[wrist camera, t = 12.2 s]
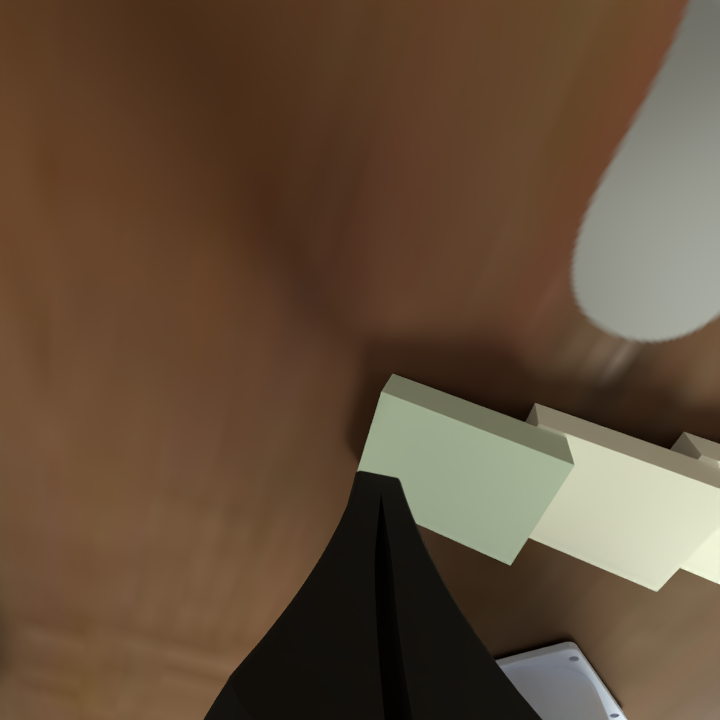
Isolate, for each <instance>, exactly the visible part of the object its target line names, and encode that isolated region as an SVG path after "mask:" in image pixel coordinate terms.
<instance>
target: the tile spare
mask: <svg viewBox="0 0 720 720" xmlns="http://www.w3.org/2000/svg"><path fill="white" fill-rule="evenodd" d="M574 466H575V465H574V461H573V458H572V454H571V451H570V448H569V444H568V441H567V438H566V437H563V436H561V435H558V434H555V433H553V432H550V431H547V430H544V429H542V428H539V427H536V426H534V425H531V424H528V423H526V422H523V421H520V420H517V419H515V418H512V417H509V416H507V415H504V414H501V413H498V412H496V411H493V410H490V409H488V408H485V407H482V406H479V405H477V404H474V403H471V402H469V401H466V400H463V399H461V398H458V397H455V396H452V395H450V394H447V393H444V392H442V391H439V390H436V389H433V388H431V387H428V386H425V385H423V384H420V383H417V382H414V381H412V380H409V379H406V378H404V377H401V376H398V375H395V374H392V375H391V377H390V379H389V380H388V382H387V383H386V385H385V387H384V388H383V390H382V391H381V395H380V398H379V401H378V405H377V408H376V411H375V415H374V418H373V421H372V424H371V428H370V431H369V434H368V438H367V441H366V444H365V448H364V451H363V454H362V458H361V461H360V464H359V467H358V471H360V470H361V471H366V472H371V473H376V474H381V475H386V476H391V477H396V478H399V480H400V481H401V484H402V487H403V490H404V494H405V496H406V499H407V502H408V505H409V507H410V510H411V513H412V515H413V518H414V520H415V523H416V524H418V525H421V526H423V527H425V528H427V529H430V530H432V531H434V532H436V533H439V534H441V535H443V536H445V537H447V538H450V539H452V540H454V541H456V542H459V543H461V544H463V545H465V546H468V547H470V548H472V549H474V550H477V551H479V552H481V553H483V554H486V555H488V556H490V557H492V558H495V559H497V560H499V561H501V562H504V563H506V564H508V565H510V566H511V564H512V563H513V561H514V559H515V558H516V556H517V555H518V553H519V552H520V550H521V548H522V547H523V545H524V544H525V542H526V541H527V539H528V537H529V536H530V534H531V533H532V531H533V530H534V528H535V527H536V525H537V523H538V522H539V520H540V519H541V517H542V516H543V514H544V512H545V511H546V509H547V508H548V506H549V505H550V503H551V502H552V500H553V498H554V497H555V495H556V494H557V492H558V491H559V489H560V487H561V486H562V484H563V483H564V481H565V480H566V478H567V476H568V475H569V473H570V472H571V470H572V469H573V467H574ZM358 471H357V472H358Z"/></svg>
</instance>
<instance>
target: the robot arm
mask: <svg viewBox="0 0 720 720" xmlns="http://www.w3.org/2000/svg"><path fill="white" fill-rule="evenodd" d="M204 720H627V718H626V716H625V714H624V712H623V711H622V709H621V708H620V706H619V705H618V704H617V702H616V701H615V699H614V698H613V696H612V695H611V693H610V692H609V691H608V689H607V688H606V686H605V685H604V683H603V682H602V681H601V679H600V678H599V676H598V675H597V673H596V672H595V671H594V669H593V668H592V666H591V665H590V663H589V662H588V660H587V659H586V658H585V656H584V655H583V653H582V652H581V650H580V649H579V648H578V646H577V645H576V644H575V643H573V642H563V643H560V644H556V645H552V646H548V647H544V648H540V649H537V650H533V651H529V652H525V653H521V654H517V655H514V656H510V657H506V658H502V659H498V660H494V658H493V657H492V655H491V654H490V653H489V651H488V650H487V648H486V647H485V645H484V644H483V643H482V641H481V640H480V638H479V637H478V636H477V634H476V633H475V631H474V630H473V628H472V627H471V625H470V624H469V622H468V621H467V619H466V618H465V616H464V614H463V613H462V611H461V610H460V608H459V606H458V605H457V603H456V602H455V600H454V598H453V596H452V595H451V593H450V591H449V590H448V588H447V586H446V584H445V583H444V581H443V579H442V577H441V575H440V573H439V571H438V570H437V568H436V566H435V564H434V562H433V560H432V558H431V556H430V554H429V552H428V549H427V547H426V545H425V543H424V541H423V539H422V536H421V534H420V532H419V529H418V527H417V525H416V523H415V520H414V518H413V515H412V513H411V510H410V507H409V505H408V502H407V499H406V496H405V494H404V490H403V487H402V484H401V481H400V480H399V478H396V477H391V476H386V475H381V474H376V473H371V472H366V471H361V470H360V471H358V472H356V474H355V478H354V482H353V486H352V489H351V493H350V497H349V501H348V505H347V507H346V509H345V512H344V514H343V516H342V518H341V521H340V523H339V525H338V527H337V529H336V531H335V532H334V534H333V536H332V538H331V540H330V542H329V544H328V546H327V547H326V549H325V551H324V553H323V554H322V556H321V558H320V559H319V561H318V563H317V564H316V566H315V567H314V569H313V570H312V572H311V574H310V575H309V577H308V578H307V580H306V581H305V583H304V584H303V585H302V587H301V588H300V590H299V591H298V593H297V594H296V596H295V597H294V598H293V600H292V601H291V603H290V604H289V605H288V607H287V608H286V609H285V610H284V612H283V613H282V614H281V616H280V617H279V618H278V619H277V621H276V622H275V623H274V625H273V626H272V627H271V628H270V630H269V631H268V632H267V634H266V635H265V636H264V637H263V638H262V640H261V641H260V642H259V643H258V644H257V646H256V647H255V648H254V649H253V650H252V651H251V652H250V654H249V655H248V656H247V657H246V658H245V659H244V660H243V662H242V663H241V664H240V665H239V666H238V667H237V668H236V670H235V671H234V672H233V673H232V674H231V676H230V677H229V679H228V681H227V683H226V684H225V686H224V687H223V689H222V690H221V692H220V694H219V695H218V697H217V698H216V700H215V701H214V703H213V705H212V706H211V708H210V710H209V711H208V713H207V715H206V716H205V718H204Z"/></svg>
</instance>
